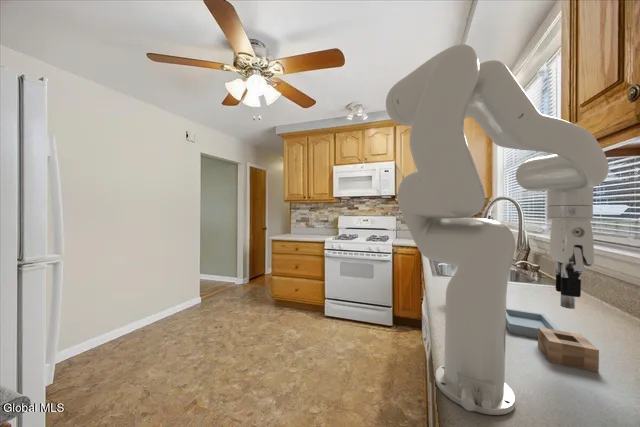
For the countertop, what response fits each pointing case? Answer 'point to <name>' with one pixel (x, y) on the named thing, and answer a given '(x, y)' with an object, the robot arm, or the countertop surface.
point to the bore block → (568, 349)
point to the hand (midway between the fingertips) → (567, 293)
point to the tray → (527, 322)
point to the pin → (567, 300)
